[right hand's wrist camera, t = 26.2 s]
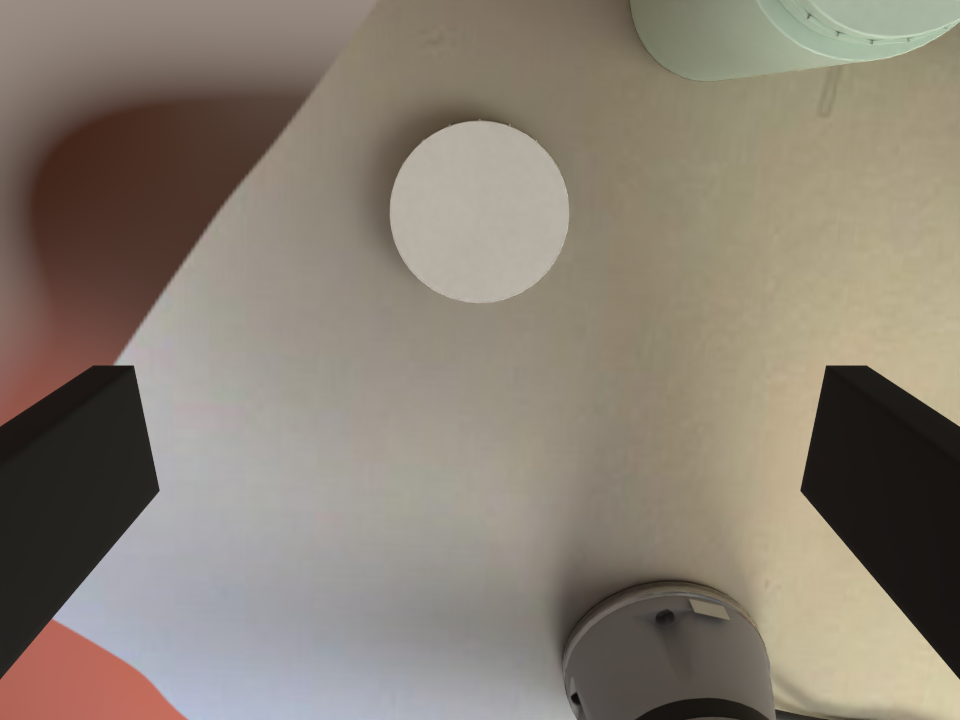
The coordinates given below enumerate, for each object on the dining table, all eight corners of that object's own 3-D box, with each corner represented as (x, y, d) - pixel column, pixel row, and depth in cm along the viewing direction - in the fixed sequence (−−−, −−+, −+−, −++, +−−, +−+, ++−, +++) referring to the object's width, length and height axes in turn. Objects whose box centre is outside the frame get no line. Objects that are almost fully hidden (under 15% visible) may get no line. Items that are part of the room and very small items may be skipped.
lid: (463, 78, 35) (462, 76, 34) (602, 196, 38) (608, 200, 36) (359, 226, 38) (353, 231, 37) (493, 327, 41) (494, 337, 39)
